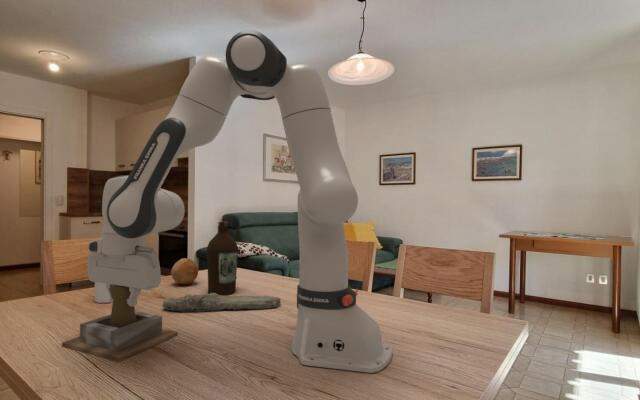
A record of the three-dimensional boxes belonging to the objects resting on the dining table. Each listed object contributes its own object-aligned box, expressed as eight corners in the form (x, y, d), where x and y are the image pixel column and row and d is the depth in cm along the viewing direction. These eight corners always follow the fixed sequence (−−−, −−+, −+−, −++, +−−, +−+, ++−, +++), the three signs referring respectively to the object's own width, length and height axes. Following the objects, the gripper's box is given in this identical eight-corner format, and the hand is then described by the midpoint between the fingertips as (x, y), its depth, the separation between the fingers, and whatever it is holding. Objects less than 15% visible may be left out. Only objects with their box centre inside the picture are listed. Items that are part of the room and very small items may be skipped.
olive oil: (200, 292, 130) (201, 221, 130) (227, 287, 137) (228, 220, 137) (215, 298, 122) (216, 223, 122) (243, 292, 129) (244, 222, 129)
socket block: (177, 335, 89) (177, 315, 89) (118, 361, 75) (118, 338, 74) (125, 323, 96) (125, 305, 96) (62, 346, 82) (62, 324, 82)
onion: (165, 286, 136) (165, 260, 136) (180, 281, 146) (180, 255, 146) (189, 288, 134) (189, 261, 134) (202, 282, 144) (203, 257, 144)
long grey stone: (280, 316, 110) (279, 307, 120) (282, 298, 110) (280, 291, 120) (157, 313, 104) (166, 305, 114) (159, 294, 105) (168, 288, 114)
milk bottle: (127, 299, 119) (127, 238, 119) (102, 305, 112) (103, 240, 112) (114, 295, 123) (114, 236, 123) (89, 300, 117) (90, 238, 116)
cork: (124, 337, 82) (124, 288, 82) (101, 334, 83) (102, 286, 83) (143, 328, 88) (143, 282, 88) (121, 325, 89) (122, 280, 89)
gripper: (167, 246, 84) (167, 306, 84) (106, 241, 92) (106, 295, 92) (145, 249, 78) (144, 314, 78) (82, 243, 86) (81, 302, 86)
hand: (123, 304), depth 85 cm, fingers closed on cork, 4 cm apart
